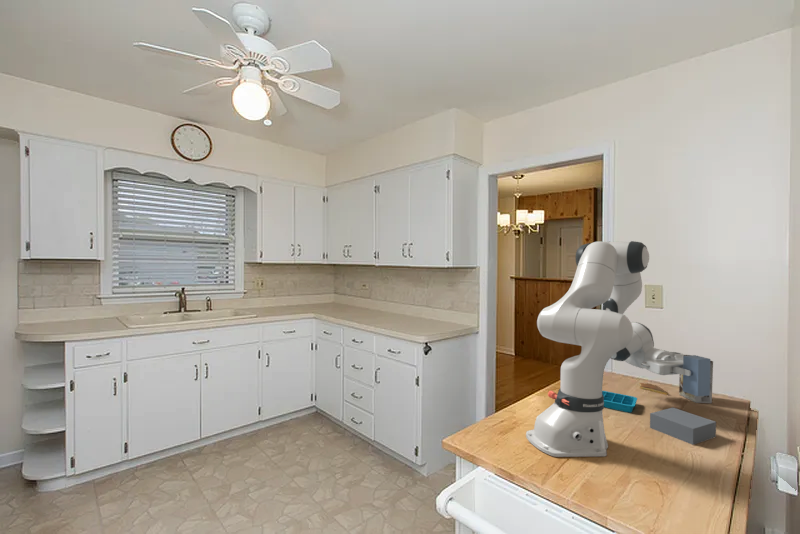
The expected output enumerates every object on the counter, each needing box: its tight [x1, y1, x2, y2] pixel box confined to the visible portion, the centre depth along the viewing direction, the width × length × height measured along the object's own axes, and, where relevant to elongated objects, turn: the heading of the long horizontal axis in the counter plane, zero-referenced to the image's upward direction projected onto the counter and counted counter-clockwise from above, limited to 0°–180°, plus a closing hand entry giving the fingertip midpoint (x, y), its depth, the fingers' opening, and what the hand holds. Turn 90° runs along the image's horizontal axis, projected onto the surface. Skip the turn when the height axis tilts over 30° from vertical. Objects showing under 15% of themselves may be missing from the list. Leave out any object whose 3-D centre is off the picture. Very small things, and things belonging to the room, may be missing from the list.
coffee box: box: [678, 354, 714, 404], centre depth 143 cm, size 9×6×16 cm
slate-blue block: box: [683, 354, 711, 396], centre depth 123 cm, size 5×5×12 cm
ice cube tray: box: [602, 390, 638, 413], centre depth 139 cm, size 12×20×3 cm, turn 52°
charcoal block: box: [649, 407, 717, 446], centre depth 114 cm, size 12×12×5 cm
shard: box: [637, 382, 670, 396], centre depth 153 cm, size 11×8×2 cm
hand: (699, 372), depth 122 cm, fingers closed on slate-blue block, 5 cm apart
